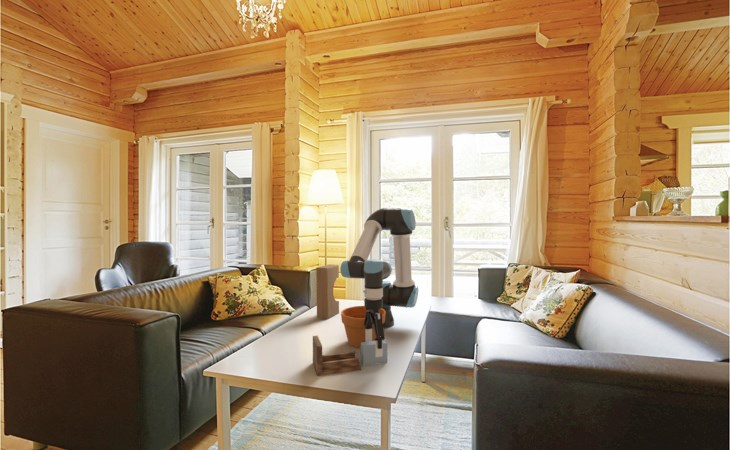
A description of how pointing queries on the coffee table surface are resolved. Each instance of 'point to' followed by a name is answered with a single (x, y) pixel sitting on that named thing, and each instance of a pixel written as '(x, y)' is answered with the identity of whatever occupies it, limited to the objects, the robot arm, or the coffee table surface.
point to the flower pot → (357, 324)
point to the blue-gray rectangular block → (372, 353)
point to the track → (333, 360)
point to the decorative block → (326, 291)
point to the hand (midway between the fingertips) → (373, 350)
